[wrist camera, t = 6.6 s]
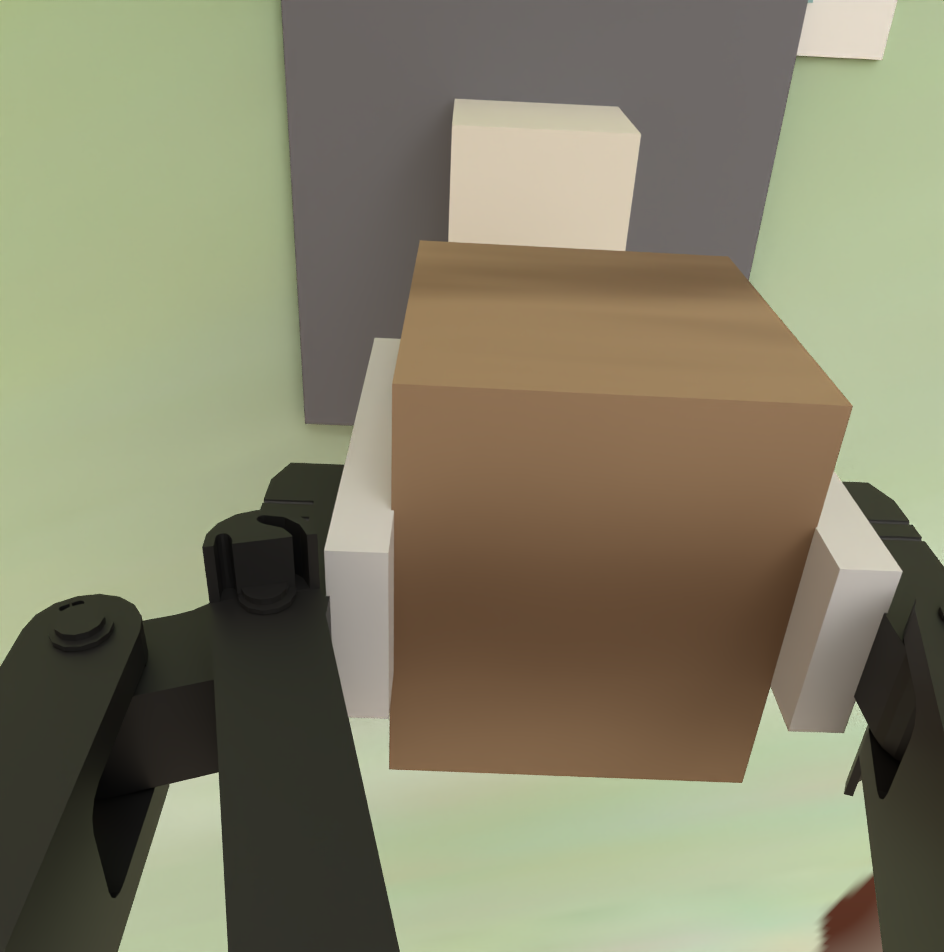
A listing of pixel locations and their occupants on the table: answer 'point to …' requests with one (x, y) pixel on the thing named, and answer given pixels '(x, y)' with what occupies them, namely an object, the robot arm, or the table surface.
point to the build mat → (518, 54)
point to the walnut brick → (596, 511)
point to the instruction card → (846, 28)
